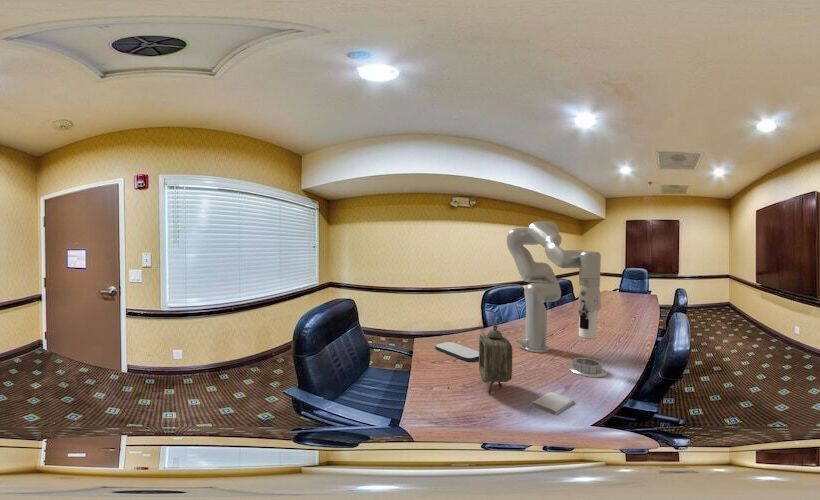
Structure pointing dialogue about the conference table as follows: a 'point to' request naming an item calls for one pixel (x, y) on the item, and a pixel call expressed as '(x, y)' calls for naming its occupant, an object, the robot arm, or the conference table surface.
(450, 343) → the external hard drive
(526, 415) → the conference table surface
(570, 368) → the ring collar
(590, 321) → the can
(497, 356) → the tabletop clock
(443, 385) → the conference table surface
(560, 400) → the hard drive
